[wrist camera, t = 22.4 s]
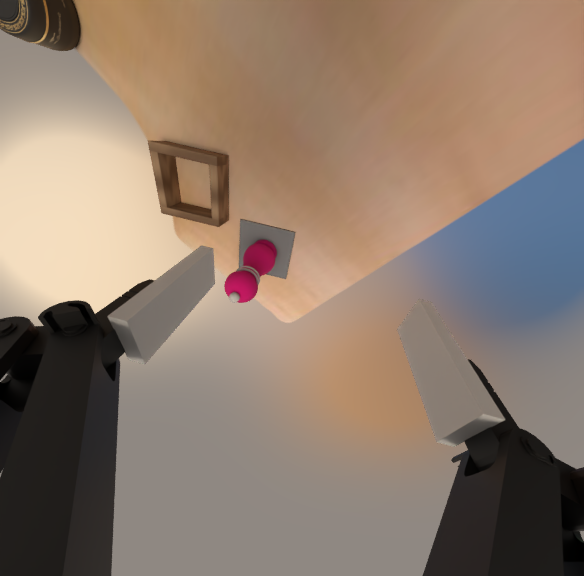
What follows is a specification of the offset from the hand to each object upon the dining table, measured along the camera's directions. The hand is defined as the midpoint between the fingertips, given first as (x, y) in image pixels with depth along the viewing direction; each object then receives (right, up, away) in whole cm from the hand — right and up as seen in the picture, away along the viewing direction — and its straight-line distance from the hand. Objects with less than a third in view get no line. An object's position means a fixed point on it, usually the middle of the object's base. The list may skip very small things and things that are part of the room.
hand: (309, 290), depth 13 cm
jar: (-40, +45, +20) cm, 63 cm away
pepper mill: (-8, +9, +38) cm, 40 cm away
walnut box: (-21, +23, +31) cm, 44 cm away
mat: (-8, +9, +38) cm, 40 cm away
